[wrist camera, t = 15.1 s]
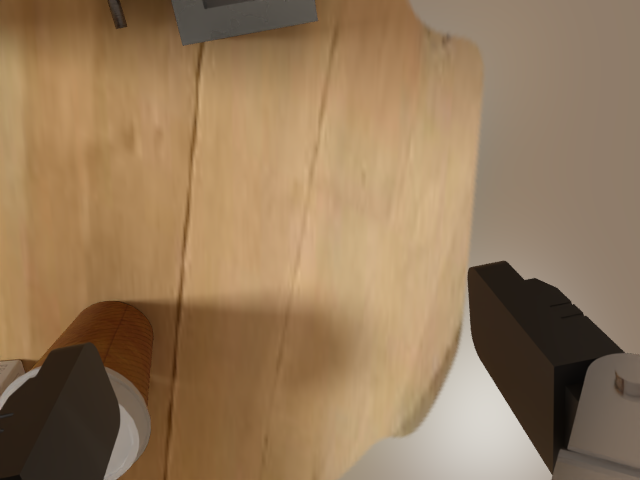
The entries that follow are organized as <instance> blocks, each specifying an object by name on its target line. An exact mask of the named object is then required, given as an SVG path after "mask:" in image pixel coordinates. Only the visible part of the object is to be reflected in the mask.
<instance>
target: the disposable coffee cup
mask: <svg viewBox="0 0 640 480" xmlns="http://www.w3.org/2000/svg"><path fill="white" fill-rule="evenodd" d="M87 342H91V343H93V344H94V345H95V347H96V348H97V350H98V352H99V355H100V357H101V360H102V362H103V365H104V367H105V370H106V372H107V375H108V377H109V380H110V382H111V385H112V387H113V390H114V392H115V395H116V397H117V400H118V403H119V408H120V429H119V433H118V436H117V439H116V442H115V445H114V448H113V451H112V454H111V458H110V461H109V464H108V467H107V470H106V473H105V476H104V479H103V480H117V479H118V478H119V477H120V476H122V475H123V474H124V473H125V472H126V471H127V470H128V469H129V468H130V467H131V465H132V464H133V463H134V462H135V461H137V460H138V458H139V457H140V456H141V454H142V453H143V452H144V450H145V448H146V446H147V444H148V441H149V437H150V433H151V418H150V415H149V412H148V409H147V405H148V402H147V400H148V389H149V378H150V367H151V354H152V344H153V331H152V327H151V325H150V323H149V321H148V319H147V318H146V317H145V316H144V315H143V314H142V313H141V312H140V311H139V310H137V309H136V308H134V307H132V306H130V305H127V304H124V303H121V302H115V301H106V302H99V303H96V304H93V305H91V306H89V307H88V308H86V309H85V310H83V311H82V312H81V313H80V314H79V316H78V317H77V318H76V319H75V320H74V321H73V323H72V324H71V325H70V326H69V327H68V328H67V329H66V330H65V332H64V333H63V334H62V335H61V336H60V337H59V338H58V339H57V340H56V342H55V343H54V344H53V345H52V346H51V347H50V348H49V349H48V351H47V352H46V353H45V354H44V355H43V356H42V357H41V359H40V360H39V361H38V362H37V363H36V364H35V365H34V367H33V368H32V369H31V370H30V371H29V372H27V373H25V374H23V375H22V376H20V377H18V378H17V379H16V380H15V381H14V382H12V383H11V384H10V385H9V386H8V387H7V389H6V390H5V391H4V392H3V394H2V396H1V397H0V410H1V408H2V407H3V405H4V403H5V402H6V400H7V399H8V397H9V396H10V395H11V394H12V393H13V392H15V391H16V390H17V389H18V388H19V387H20V386H21V385H22V384H23V383H24V382H26V381H27V380H28V379H29V378H33V377H35V376H36V375H37V373H38V371H39V370H40V368H41V366H42V365H43V363H44V361H45V359H46V358H47V356H48V354H49V353H50V351H52V350H53V349H57V348H62V347H67V346H72V345H77V344H82V343H87Z"/></svg>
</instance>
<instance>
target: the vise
mask: <svg viewBox="0 0 640 480" xmlns="http://www.w3.org/2000/svg"><path fill="white" fill-rule="evenodd" d="M171 2H172V5H173V9H174V13H175V17H176V21H177V25H178V29H179V33H180V37H181V41H182V45H183V46H184V45H189V44H195V43H200V42H206V41H211V40H217V39H222V38H227V37H233V36H238V35H244V34H249V33H255V32H260V31H266V30H271V29H276V28H282V27H287V26H293V25H298V24H304V23H309V22H315V21H318V18H317V12H316V5H315V0H171ZM108 3H109V7H110V10H111V13H112V17H113V20H114V23H115V27H116V29H118V28H124V27H127V24H126V20H125V17H124V14H123V10H122V7H121V3H120V0H108Z"/></svg>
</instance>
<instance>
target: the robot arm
mask: <svg viewBox="0 0 640 480" xmlns="http://www.w3.org/2000/svg"><path fill="white" fill-rule="evenodd" d="M468 292H469V308H470V324H471V334H472V339H473V343H474V346H475V349H476V351H477V354H478V356H479V358H480V360H481V362H482V363H483V365H484V366H485V368H486V370H487V371H488V373H489V374H490V376H491V377H492V379H493V380H494V382H495V384H496V386H497V387H498V389H499V390H500V392H501V394H502V395H503V397H504V398H505V400H506V402H507V403H508V405H509V406H510V408H511V410H512V411H513V413H514V414H515V416H516V418H517V419H518V421H519V422H520V424H521V426H522V427H523V429H524V430H525V432H526V434H527V435H528V437H529V439H530V440H531V442H532V443H533V445H534V447H535V448H536V450H537V451H538V453H539V454H540V456H541V458H542V459H543V461H544V463H545V464H546V466H547V467H548V469H549V471H550V472H551V474H552V475H553V476H552V480H640V355H639V354H631V353H625V352H623V350H622V349H620V348H619V347H618V346H617V345H616V344H615V343H614V342H613V341H612V340H611V339H610V338H609V337H608V336H607V335H606V334H605V333H604V332H603V331H602V330H601V329H599V328H598V327H597V326H596V325H595V324H594V323H593V322H592V321H591V320H590V319H589V318H588V317H587V316H584V315H583V312H582V311H581V310H580V309H578V308H577V307H576V306H575V305H574V304H573V305H572V303H571V301H570V300H569V299H568V298H567V297H566V296H565V295H564V294H563V293H562V292H561V291H560V290H559V289H558V288H556V287H554V286H552V285H549V284H547V283H545V282H543V281H540V280H538V279H536V278H534V279H528V280H524V279H523V278H522V277H521V276H520V275H519V274H518V273H517V272H516V271H515V270H514V269H513V268H512V267H511V265H509V263H507V262H506V261H500V262H495V263H489V264H485V265H479V266H475V267H470V268H469V270H468ZM119 429H120V408H119V403H118V400H117V397H116V395H115V392H114V390H113V387H112V385H111V382H110V380H109V377H108V375H107V372H106V370H105V367H104V365H103V362H102V360H101V357H100V355H99V352H98V350H97V348H96V347H95V345H94V344H93V343H91V342H87V343H82V344H77V345H72V346H67V347H62V348H57V349H53V350H52V351H50V353H49V354H48V356H47V358H46V359H45V361H44V363H43V365H42V366H41V368H40V370H39V371H38V373H37V375H36V376H35V377H33V378H29V379H28V380H27V381H26V382H24V383H23V384H22V385H21V386H20V387H19V388H18V389H17V390H16V391H15V392H13V393H12V394H11V395H10V396H9V397H8V399H7V400H6V402H5V403H4V405H3V407H2V408H1V410H0V480H103V479H104V476H105V473H106V470H107V467H108V464H109V461H110V458H111V454H112V451H113V448H114V445H115V442H116V439H117V436H118V433H119Z"/></svg>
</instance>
